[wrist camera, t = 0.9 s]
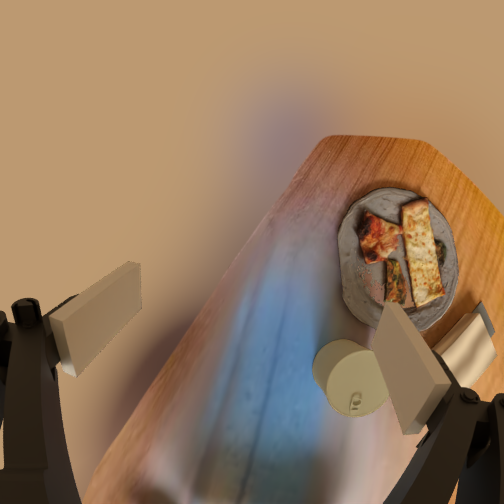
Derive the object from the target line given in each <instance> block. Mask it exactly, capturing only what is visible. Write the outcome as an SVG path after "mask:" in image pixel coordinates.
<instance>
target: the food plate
mask: <svg viewBox="0 0 504 504" xmlns="http://www.w3.org/2000/svg"><path fill="white" fill-rule="evenodd" d="M347 211H348V210H347ZM337 240H338V249H339V259H340V269H341V280H342V285H343V288H342V298H343V299H344V301H345V304H346V305H347V307H348V309H349V310H350V311H351V313H352V314H353V315H354V316H355V317H357V318H358V319H359V321H362V322H363V323H365V324H366V325H369V326H371V327H373V328H374V329H376V330H377V327H378V324H379V321H380V318H381V315H382V312H383V309H384V307H382V304H380V303H376V302H375V300H374V298H375V297H370V295H369V294H370V291H369V290H370V289H369V288H368V287H367V286H365V288H364V285H365V284H367V283H366V282H365V284H364V283H363V281H362V279H363V280H364V279H365V276H364V275H365V273H366V271H365V273H364V275H363V277H362V272H363V271H364V270H365V269H368V271H367V274H370V273H372V280H371V287H372V286H373V284H374V283H375V280H376V281H377V282H378V284H379V282H380V285H381V286H383V284H385V285H384V286H385V287H384V288H385V296H384V298H385V299H384V302H385V301H387V302H394V303H399V305H400V304H402V305H403V306H404V305H405V299H406V293H407V292H406V289H405V286H406V285H405V279H404V278H405V277H406V280H407V282H408V285H409V292H411V298H412V302H413V301H414V305H415V307H410V308H402V309H403V310H404V312H405V313H406V314H407V316H408V317H409V319H410V320H411V322H412V323H413V324H414V326H415V327H416V329H417V330H418V332H419V331H423V330H427V329H428V328H430V327H431V326H432V325H433V324H434V323H435V322H436V321H438V320H439V319H440V318H441V317H442V316H443V315H444V314H445V312H446V311H447V310H448V308H449V307H450V305H451V303H452V301H453V299H454V296H455V290H456V287H457V284H458V276H459V268H457V265H458V260H457V254H456V248H455V243H454V238H453V235H452V230H451V228H450V226H449V224H448V222H447V220H446V219H445V218H444V216H443V215H442V214H441V213H440V212H439V211H438V210H437V209H436V208H435V206H433V204H431V202H430V201H429V200H428V199H427V197H421V196H419V195H417V194H416V193H414V192H412V191H410V190H405V189H400V188H394V187H387V188H383V187H382V188H377V189H375V190H373V191H370V192H369V193H367V194H366V195H364V196H363V197H361V198H360V199H358V200H356V201H354V202H353V204H352V205H351V206H350V207H349V212H347V213H346V215H345V216H344V218H343V222H342V224H340V226H339V230H338V236H337ZM357 257H358V259H359V261H358V260H357ZM362 263H363V266H361V265H362ZM351 264H352V265H351ZM358 266H359V268H360V270H359V268H358ZM364 266H365V267H364ZM362 268H363V269H362ZM357 269H358V271H357ZM370 270H371V271H370ZM359 272H360V273H361V275H360V276H361V278H359ZM457 274H458V275H457ZM406 275H407V276H406ZM364 281H365V280H364ZM372 281H373V282H372ZM374 285H375V284H374ZM375 286H376V285H375ZM374 288H375V287H374ZM376 290H377V289H376ZM381 290H382V289H381ZM374 295H375V294H374ZM378 301H379V300H378Z"/></svg>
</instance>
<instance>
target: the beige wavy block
mask: <svg viewBox="0 0 504 504" xmlns="http://www.w3.org/2000/svg"><path fill="white" fill-rule="evenodd" d="M431 350H434V351H436V352H437V353H438V354H439V355H440V356H441V357H442V358H443V360H444V361H445V363H446V365H447V366H448V367H449V370H451V372H452V373H453V375H454V377H455V378H456V380H457V381H458V383H459V385H460V386H461V387H466V388H471V386H472V385H473V384H474V383H475V382H476V381H477V380H478V379H479V377H480V376H481V375H482V374H483V373H484V371H485V370H486V369H487V368H488V367H489V365H490V364H491V363H492V362H493V360H494V359H495V358H496V356H497V354H496V351H495V348H494V346H493V343H492V341H491V338H490V336H489V333H488V331H487V329H486V326H485V324H484V322H483V320H482V318H481V315H480V313H465V314H464V316H463V317H462V318H461V319H460V320H459V321H458V322H457V323H456V325H455V326H454V327H453V328H452V329H451V330H450V331H449V332H448V333H447V334H446V335H445V336H444V337H443V338H442V339H441V340H440V341H439V342H438V343H437V344H436V345H435V346H434V347H433V348H432V349H431Z"/></svg>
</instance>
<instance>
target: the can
mask: <svg viewBox="0 0 504 504" xmlns="http://www.w3.org/2000/svg"><path fill="white" fill-rule="evenodd" d="M312 372H313V377H314V380H315V382H316V383H317V385H318V386H319V387H320V388H321V389H322V390H323V392H324V394H325V395H326V397H327V399H328V401H329V403H330V405H331V406H332V408H333V409H334V410H335V411H337V412H338V413H340V414H342V415H344V416H348V417H361V416H365V415H368V414H370V413H372V412H374V411H376V410H377V409H378V408H379V407H381V406H382V405H383V404H384V403H385V401H386V400H387V399H388V397H389V395H390V394H389V391H388V389H387V386H386V383H385V380H384V378H383V375H382V372H381V370H380V367H379V364H378V362H377V359H376V357H375V354H374V352H373V350H370V349H367V348H365V347H362V346H360V345H359V344H357V343H356V342H354V341H351V340H347V339H339V340H335V341H332V342H330V343H328V344H326V345H325V346H324V347H322V348H321V350H320V351H319V352H318V353H317V355H316V357H315V359H314V362H313V368H312Z"/></svg>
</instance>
